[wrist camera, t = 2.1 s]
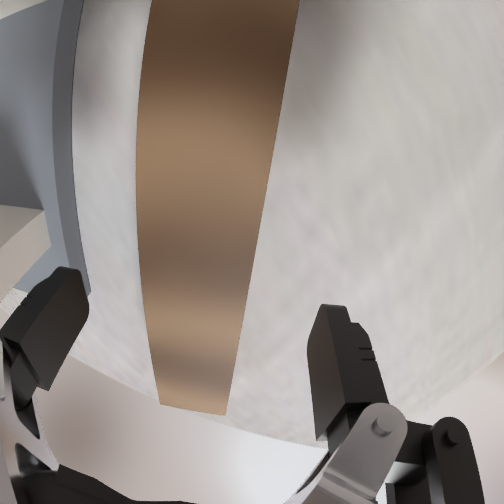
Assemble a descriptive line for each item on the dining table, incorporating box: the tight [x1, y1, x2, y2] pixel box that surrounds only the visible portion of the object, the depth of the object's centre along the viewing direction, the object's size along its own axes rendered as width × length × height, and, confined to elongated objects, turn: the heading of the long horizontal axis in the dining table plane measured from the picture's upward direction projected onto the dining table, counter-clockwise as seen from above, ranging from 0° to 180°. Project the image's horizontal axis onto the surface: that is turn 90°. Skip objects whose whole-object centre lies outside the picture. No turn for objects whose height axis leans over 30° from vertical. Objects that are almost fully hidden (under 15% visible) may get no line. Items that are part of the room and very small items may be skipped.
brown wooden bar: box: [136, 0, 300, 416], centre depth 12 cm, size 22×4×4 cm, turn 172°
